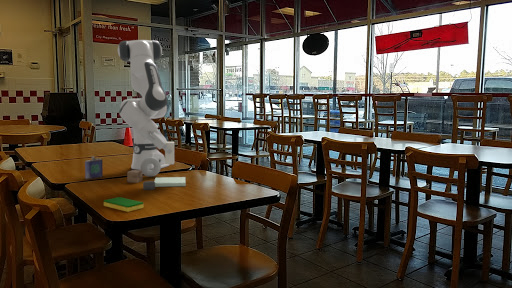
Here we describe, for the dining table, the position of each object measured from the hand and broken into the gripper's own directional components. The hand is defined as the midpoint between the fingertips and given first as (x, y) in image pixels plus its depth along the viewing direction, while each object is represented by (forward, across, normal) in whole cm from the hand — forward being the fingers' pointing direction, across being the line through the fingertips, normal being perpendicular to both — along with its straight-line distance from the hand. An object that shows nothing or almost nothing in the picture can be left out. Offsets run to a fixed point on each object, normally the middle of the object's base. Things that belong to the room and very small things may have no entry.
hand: (171, 152), depth 190 cm
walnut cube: (-2, +7, +22) cm, 23 cm away
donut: (+3, +18, +18) cm, 26 cm away
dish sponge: (0, -40, +22) cm, 46 cm away
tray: (+10, 0, +11) cm, 15 cm away
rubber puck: (+4, -11, +17) cm, 21 cm away
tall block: (+3, 0, +4) cm, 5 cm away
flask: (-16, +18, +37) cm, 44 cm away
